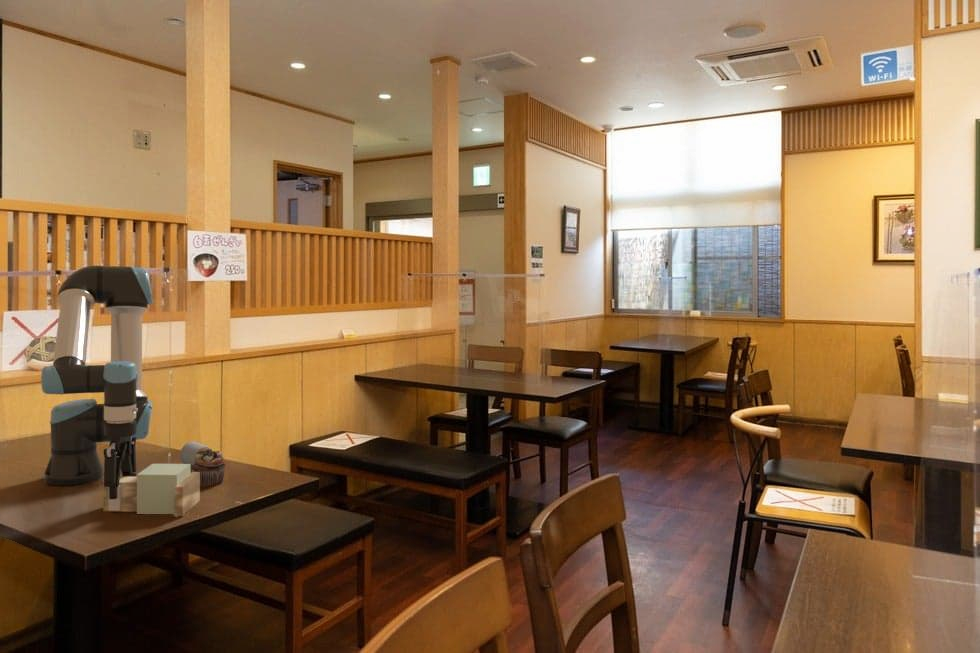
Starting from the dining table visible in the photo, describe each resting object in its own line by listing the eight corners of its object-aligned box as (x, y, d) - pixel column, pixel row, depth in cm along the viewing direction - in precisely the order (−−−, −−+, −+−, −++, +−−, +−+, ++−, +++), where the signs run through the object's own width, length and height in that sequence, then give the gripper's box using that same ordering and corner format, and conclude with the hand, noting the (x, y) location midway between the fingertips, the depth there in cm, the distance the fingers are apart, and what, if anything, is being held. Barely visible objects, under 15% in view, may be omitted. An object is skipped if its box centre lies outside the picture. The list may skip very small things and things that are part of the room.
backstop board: (174, 517, 172) (174, 486, 172) (192, 500, 185) (192, 471, 185) (182, 517, 172) (182, 487, 172) (199, 500, 185) (199, 472, 185)
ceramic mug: (195, 471, 211) (196, 447, 211) (179, 466, 215) (179, 443, 215) (223, 464, 220) (224, 441, 220) (207, 460, 224) (207, 437, 224)
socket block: (136, 514, 173) (136, 474, 172) (152, 501, 183) (152, 463, 182) (176, 514, 174) (176, 474, 173) (190, 501, 184) (190, 464, 183)
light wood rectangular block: (103, 511, 174) (103, 482, 174) (112, 505, 179) (112, 476, 179) (166, 512, 176) (166, 482, 175) (173, 505, 181) (174, 476, 180)
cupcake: (232, 479, 204) (232, 447, 203) (212, 489, 195) (212, 455, 194) (205, 476, 206) (205, 444, 206) (184, 485, 197) (184, 452, 196)
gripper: (118, 428, 166) (119, 518, 168) (150, 413, 185) (150, 494, 187) (87, 428, 166) (87, 518, 167) (121, 412, 184) (122, 493, 186)
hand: (120, 505), depth 177 cm, fingers open, 6 cm apart
